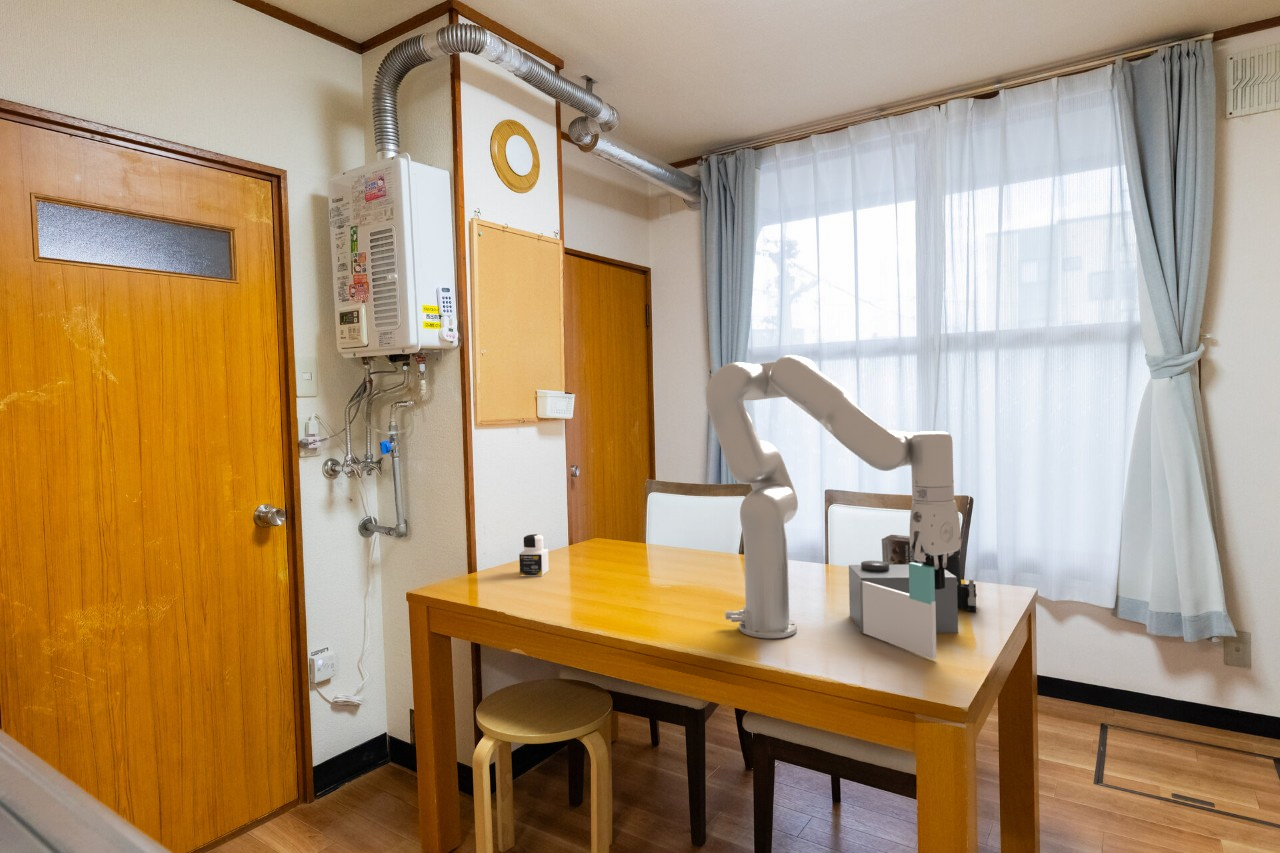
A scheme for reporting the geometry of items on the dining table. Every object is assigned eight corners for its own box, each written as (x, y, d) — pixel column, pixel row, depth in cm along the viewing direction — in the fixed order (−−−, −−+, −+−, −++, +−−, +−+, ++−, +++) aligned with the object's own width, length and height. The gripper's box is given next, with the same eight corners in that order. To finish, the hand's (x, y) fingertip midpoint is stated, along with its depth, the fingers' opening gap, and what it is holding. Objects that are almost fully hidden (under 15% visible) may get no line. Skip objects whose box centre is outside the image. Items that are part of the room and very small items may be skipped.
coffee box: (929, 602, 166) (927, 537, 165) (919, 608, 161) (918, 541, 161) (892, 596, 172) (891, 533, 172) (882, 601, 167) (880, 537, 167)
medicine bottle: (519, 576, 204) (518, 537, 204) (527, 570, 211) (526, 533, 211) (542, 576, 203) (540, 537, 203) (549, 571, 210) (547, 533, 210)
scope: (975, 554, 155) (928, 551, 160) (976, 614, 156) (929, 609, 160) (976, 547, 163) (931, 545, 167) (977, 604, 163) (932, 600, 168)
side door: (858, 631, 144) (856, 550, 144) (863, 630, 145) (861, 550, 145) (932, 659, 128) (930, 568, 127) (937, 658, 128) (935, 567, 128)
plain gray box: (862, 632, 145) (860, 572, 145) (849, 615, 157) (848, 559, 157) (957, 632, 143) (956, 571, 143) (938, 615, 155) (936, 559, 155)
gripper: (925, 500, 124) (927, 598, 124) (973, 492, 132) (976, 585, 132) (891, 496, 130) (893, 590, 131) (939, 489, 138) (942, 578, 138)
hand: (935, 587), depth 131 cm, fingers closed
